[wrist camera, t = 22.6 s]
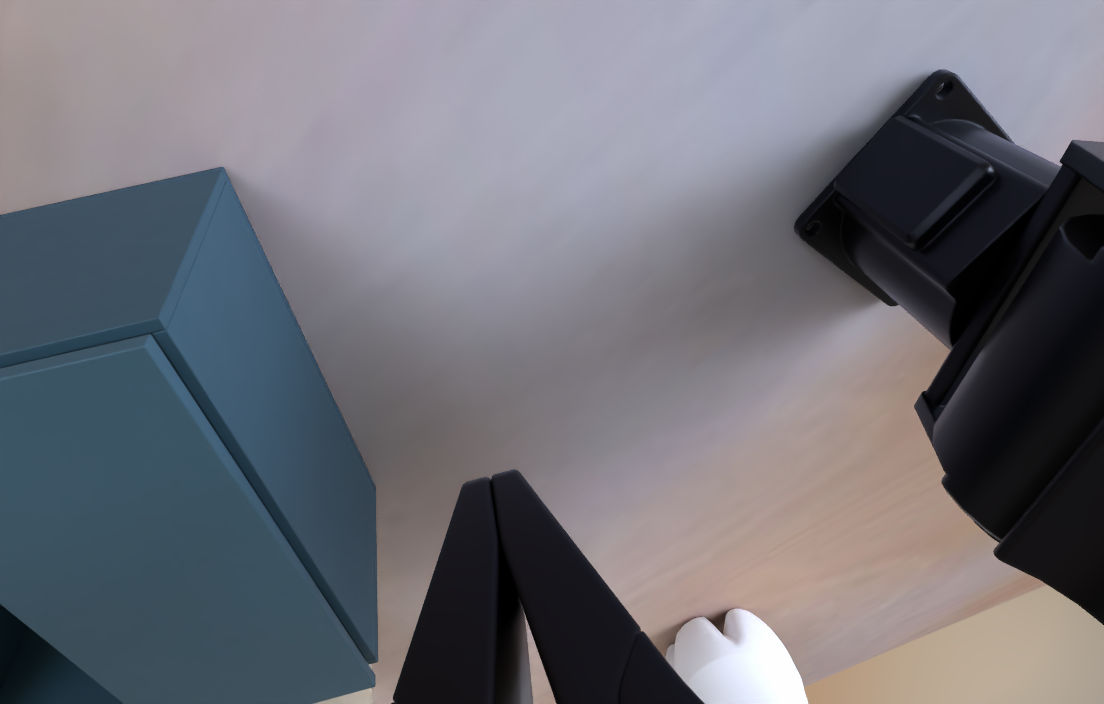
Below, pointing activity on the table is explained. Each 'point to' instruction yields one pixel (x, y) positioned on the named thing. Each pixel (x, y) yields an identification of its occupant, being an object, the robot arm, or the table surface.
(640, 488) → the table surface
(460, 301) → the table surface
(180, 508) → the flap
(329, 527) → the carton
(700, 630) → the water bottle
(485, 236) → the table surface
